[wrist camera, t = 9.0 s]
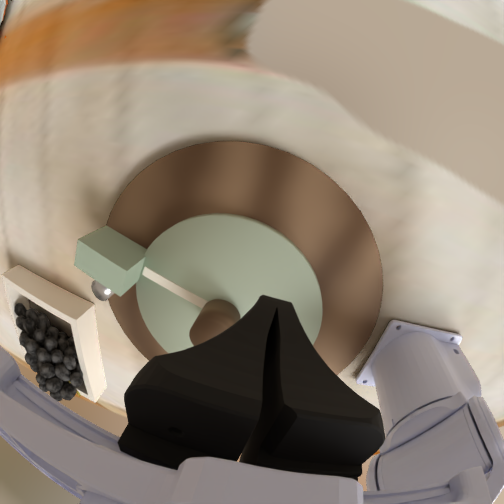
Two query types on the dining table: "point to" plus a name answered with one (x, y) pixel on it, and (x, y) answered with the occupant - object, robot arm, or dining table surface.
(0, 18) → the food on plate
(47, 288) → the fruit frame
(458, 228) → the dining table surface
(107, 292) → the dowel
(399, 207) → the dining table surface
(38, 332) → the fruit
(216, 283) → the flange plate
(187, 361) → the robot arm
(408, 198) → the dining table surface
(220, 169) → the base board
